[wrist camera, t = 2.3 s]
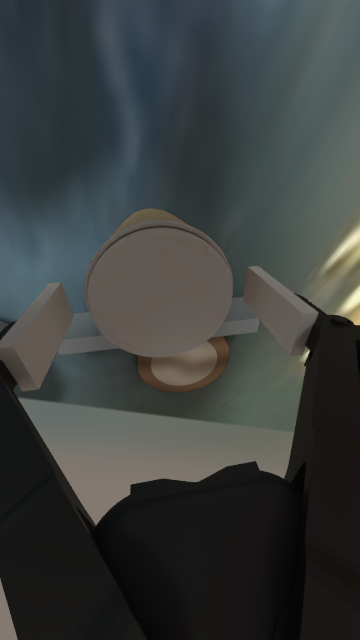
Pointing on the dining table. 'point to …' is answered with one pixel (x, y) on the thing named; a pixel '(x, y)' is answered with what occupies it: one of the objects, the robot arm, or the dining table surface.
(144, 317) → the coffee cup
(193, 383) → the walnut mat
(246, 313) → the grey wall
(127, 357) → the dining table surface
